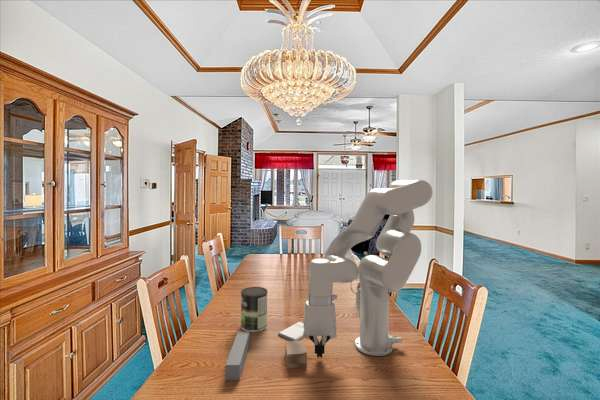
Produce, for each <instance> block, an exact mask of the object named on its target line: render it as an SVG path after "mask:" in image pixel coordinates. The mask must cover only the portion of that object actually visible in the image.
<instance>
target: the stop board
mask: <svg viewBox="0 0 600 400" xmlns="http://www.w3.org/2000/svg"><path fill="white" fill-rule="evenodd" d="M249 347H250V332H247V331H237V333H236V336H235V339H234V340H233V343H232V347H231V348H230V352H229V354H228V358H227V359H226V362H225V367H224V368H225V375H224V376H225V381H241V376H242V373H243V369H244V365H245V363H246V358H247V355H248V351H249Z"/></svg>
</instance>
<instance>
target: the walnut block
mask: <svg viewBox="0 0 600 400" xmlns="http://www.w3.org/2000/svg"><path fill="white" fill-rule="evenodd" d="M284 345H285V347H284V348H285V349H284V350H285V353H284V354H285V362H286V369H296V368H297V369H299V368H308V367H307V366H308V361H307V360H308V353H307V349H306V345H305V341H304V340H303V339H302V340H298V341H291V340H285V343H284Z"/></svg>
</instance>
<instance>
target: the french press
mask: <svg viewBox="0 0 600 400" xmlns="http://www.w3.org/2000/svg"><path fill="white" fill-rule="evenodd" d="M363 255H365V256H368V255H369V253H368V252H367V251H363ZM365 256H364V257H365ZM358 279H359V275H358V277H357V278H356V279H355V280H356V281H358ZM352 283H353V281H352V282H350V285H352ZM350 290H351V292H352V293H353V294H355V295H356V296H355V302H354V303H353V304H354V306H355V307H356V308H359V309H360V281H359V282H358V283H357V286H356V291H354V290H353V287H350Z"/></svg>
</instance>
